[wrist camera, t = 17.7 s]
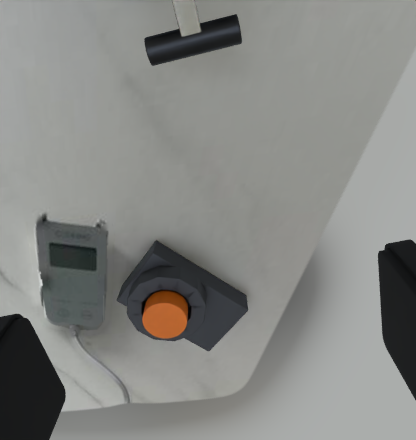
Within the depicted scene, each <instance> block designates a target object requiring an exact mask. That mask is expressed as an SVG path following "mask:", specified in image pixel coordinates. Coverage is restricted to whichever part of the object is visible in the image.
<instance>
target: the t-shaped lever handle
mask: <svg viewBox="0 0 416 440" xmlns="http://www.w3.org/2000/svg"><path fill="white" fill-rule="evenodd" d="M172 3H173V7H174V11H175V15H176V19H177V23H178V26H179V29H177V30H173V31H169V32H165V33H161V34H158V35H154V36H150V37H146V38H145V47H146V52H147V55H148V58H149V61H150V63H151V65H152V66H154V65H158V64H162V63H166V62H170V61H174V60H178V59H182V58H186V57H190V56H194V55H198V54H202V53H206V52H210V51H214V50H218V49H222V48H226V47H230V46H234V45H238V44H241V43H242V37H241V31H240V25H239V20H238V16H237V14H235V15H231V16H227V17H223V18H219V19H216V20H212V21H208V22H204V23H200V20H199V15H198V11H197V6H196V2H195V0H172Z"/></svg>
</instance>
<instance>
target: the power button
mask: <svg viewBox="0 0 416 440" xmlns="http://www.w3.org/2000/svg"><path fill="white" fill-rule="evenodd" d="M187 319H188V304H187V302H186V300H185V299H184V298H183V297H182V296H181V295H180V294H178V293H176V292H174V291H169V290H162V291H158V292H156V293H154V294H152V295H151V296H150V297H149V298H148V299H147V301H146V304H145V309H144V313H143V317H142V322H143V325H144V327H145V329H146V330H147V331H148V332H149V333H150V334H152V335H153V336H155V337H158V338H173V337H176V336H178V335H180V334H181V333H182V332H183V331H184V330H185V328H186V326H187Z"/></svg>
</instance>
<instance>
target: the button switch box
mask: <svg viewBox="0 0 416 440" xmlns="http://www.w3.org/2000/svg"><path fill="white" fill-rule="evenodd" d="M162 290H169V291H174V292H176V293H178V294H180V295H181V296H182V297H183V298H184V299H185V300H186V302H187V304H188V319H187V326H186V328H185V330H184V331H183V332H182V333H181V334H180V335H178V336H176V337H173V338H158V337H155V336H153V335H152V334H150V333H149V332H148V331H147V330H146V329H145V327H144V325H143V322H142V317H143V313H144V309H145V304H146V301H147V299H148V298H149V297H150V296H151V295H152V294H154V293H156V292H158V291H162ZM117 301H118V302H120V303H122V304H123V305H125V306H127V315H128V317H129V319H130V320H131V322H132V323H133V325H134V326H135V328H136V329H137V330H138V331H139V332H141V333H143V334H145V335H147V336H149V337H151V338H152V339H155V340H167V341H176V340H179V339H182V338H185V339H187V340H189V341H191V342H192V343H194V344H196V345H198V346H200V347H201V348H203V349H205V350H207V351H210V350H211V349H212V348H213V347H214V346H215V345H216V344H217V342H218V341H219V340H220V339H221V338H222V337H223V336H224V335H225V334H226V333H227V332H228V331H229V330H230V329H231V328H232V327H233V326H234V325H235V324H236V322H237V321H238V320H239V319H240V318H241V317H242V316H243V315H244V314H245V313H246V312H247V311H248V305H247V298H246V295H244V294H243V293H241V292H240V291H238V290H236V289H235V288H233V287H231V286H230V285H228V284H227V283H225V282H223V281H222V280H220V279H218V278H217V277H215V276H213V275H212V274H210V273H209V272H207V271H205V270H204V269H202V268H200V267H199V266H197V265H195V264H194V263H192V262H191V261H189V260H187V259H186V258H184V257H182V256H181V255H179V254H177V253H176V252H174V251H173V250H171V249H169V248H168V247H166V246H164V245H163V244H161V243H159V242H158V241H155V243H154V244H153V245H152V247H151V248H150V249H149V251H148V252H147V253H146V255H145V256H144V257H143V259H142V260H141V261H140V263H139V264H138V265H137V267H136V268H135V269H134V271H133V272H132V273H131V275H130V276H129V277H128V279H127V280H126V281H125V283H124V284H123V285H122V287H121V290H120V293H119V295H118V298H117Z"/></svg>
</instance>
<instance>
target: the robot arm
mask: <svg viewBox="0 0 416 440" xmlns="http://www.w3.org/2000/svg"><path fill="white" fill-rule="evenodd" d="M378 264H379V281H380V298H381V317H382V334H383V340H384V343H385V346H386V348H387V350H388V352H389V354H390V355H391V357H392V359H393V361H394V363H395V364H396V366H397V368H398V370H399V371H400V373H401V375H402V377H403V379H404V380H405V382H406V384H407V386H408V387H409V389H410V391H411V393H412V394H413V396H414V398H415V400H416V244H415V243H414V242H413V241H412V240H405V241H400V242H394V243H388V244H386V245H385V250H383V251H379V253H378ZM64 402H65V389H64V386H63V384H62V382H61V380H60V378H59V376H58V375H57V373H56V371H55V369H54V367H53V365H52V363H51V361H50V359H49V357H48V355H47V353H46V351H45V349H44V348H43V346H42V344H41V342H40V340H39V338H38V336H37V334H36V332H35V330H34V328H33V326H32V324H31V323H30V321H29V320H28V319H27V318H23V316H21V315H20V314H13V315H8V316H3V317H0V440H49V439H50V436H51V434H52V431H53V429H54V426H55V424H56V422H57V419H58V417H59V414H60V412H61V409H62V407H63V404H64Z"/></svg>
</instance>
